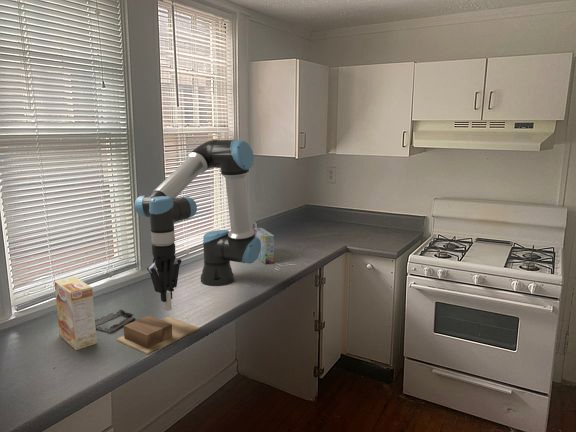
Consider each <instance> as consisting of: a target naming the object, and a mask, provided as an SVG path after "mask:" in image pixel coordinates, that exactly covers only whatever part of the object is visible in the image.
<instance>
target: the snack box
mask: <svg viewBox="0 0 576 432" xmlns="http://www.w3.org/2000/svg"><path fill="white" fill-rule="evenodd" d="M252 230H254V232H255V237H257V238H259V239H260V241H261V250H260V253H259V256H258V258H257V259H259V260H260V261H261V262H262V263H263V262H264V263H265V265H268V264H267V263H273V264H275V235H274V234H272V233H271V232H269V231H267V230H266V229H265V228H263V227H254V228H252Z"/></svg>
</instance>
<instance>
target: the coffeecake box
mask: <svg viewBox="0 0 576 432" xmlns="http://www.w3.org/2000/svg"><path fill="white" fill-rule="evenodd" d="M53 283H54V290H55V293H54V294H55V301H56V310H57V311H56V312H57V321H58V323H57V324H58V332H59V336H60V337H61V338H62V339H63V341H65V342H66V343H67V344H69V346H70V347H72V348H73V349H74V350H75V351H78V350H79V351H80V350H82V349H84V348H87V347H91V346H93V345H97V344H98V339H97V329H96V327H97V326H96V327H95V320H96V317H95V316H96V315H95V305H94V295H93V294H94V293H93V287H92V286H90V285H89V284H87V283H86V282H84V281H83V280H81V279H79V278H78V277H76V276H72V277H67V278H59V279H56V280H54V281H53Z"/></svg>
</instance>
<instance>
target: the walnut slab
mask: <svg viewBox="0 0 576 432" xmlns="http://www.w3.org/2000/svg"><path fill="white" fill-rule="evenodd" d="M123 336H124V338H125V339H127V340H129V341H132V342H134V343H136V344H138V345H141V346H143V347H145V348H147V349H148V348H150V347H152V346H154V345H156V344H158V343H161V342H163V341H165V340H167V339H169V338H171V337H172V324H170V323H167V322H164V321H162V319H159V318H156V317H153V316H151V315H147V316H144V317H142V318H140V319H136V320H134V321H132V322H128V323H126V324H125V325H123Z"/></svg>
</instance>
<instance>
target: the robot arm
mask: <svg viewBox="0 0 576 432" xmlns="http://www.w3.org/2000/svg"><path fill="white" fill-rule="evenodd" d="M253 162H254V153H253V148H252V147H251V145H250V144H249V143H248V142H247V141H246V140H238V139H212V140H208V141H205V142H204V143H202V144H200V145H198V146H197V147H195V148H193V150H191V151H190V152H189V153H188V155H187V156H186V159H185V160H184V161H183V162H182V163H181V164H180V165H179V166H178V167H177V168H176V169H175V170H173V172H172V173H170V174H169V176H168V177H167V178H165V179H164V180H163V181H162V182H161V183H160V184H159V185H158V186H157V187H156V188H155V189H154V190H153V191H152V192H151V193H150V194H148V195H139V196H138V197H137V198H136V199H135V202H134V210H135V212H136V214H137V215H139V216H141V217H146V218H149V221H150V236H151V238H150V239H151V244H152V245H151V253H152V256H153V257H152V259H153V260H152V263H151V265H150V266H147V267H146V270H147V271H148V273H149V274H150V275H149V276H150V279H151V281H152V284H153V289H154V291H155V292H156V293H159V294H160V300H161V302H162V309H163V310H164V311H166V312H167V311H171V310H172V309H173V308H172V307H173V306H172V299H173V292H175V289H176V288H177V287H178V279H179V272H180V266H181V264H182V259H180V258H177V257H176V255H175V254H176V243H175V242H176V237H175V233H176V232H175V223H177V222H181V221H184V220H188V219H190V218H193V217H194V216H195V215H196V213H197V211H198V206H197V205H198V204H197V203H196V201H195V199H193V198H192V197H190V196H183V197H181V198H178V196H179V195H180V194H181V193H182V192H183V191H184V190H185V189H186V188H187V187H188V186H189V185H190V184H191V183H192V182H193V181H194V180H195V179H196V178H197V177H198V176H199V175H200V174H203V173H206V171H207V170H209V169H214V168H216V169H220V174H221V176H223V177H224V179H225V188H226V196H227V198H226V199H227V204H228V205H227V206H228V214H229V215H228V216H229V224H230V231H229V230H228V229H217V230H213V231H208V232H205V233H204V234H203V239H202V240H203V241H202V246H203V268H202V272H201V275H200V282H201V283H202V284H203V285H207V286H214V287H215V286H224V285H229V284H231V283H233V282H234V281H235V273H234V272H233V269H232V266H231V262H235V263H241V264H253V263H255V261H257V260H258V259H259V258H258V256H259V253H260V250H261V241H260V239H259V238H257V237H255V232H254V230H253V228H251V227H252V226H251V218H250V216H251V215H250V206H249V195H248V186H247V175H248V173H250V169H251V168H252V166H253V165H254V163H253ZM174 288H175V289H174Z"/></svg>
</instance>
